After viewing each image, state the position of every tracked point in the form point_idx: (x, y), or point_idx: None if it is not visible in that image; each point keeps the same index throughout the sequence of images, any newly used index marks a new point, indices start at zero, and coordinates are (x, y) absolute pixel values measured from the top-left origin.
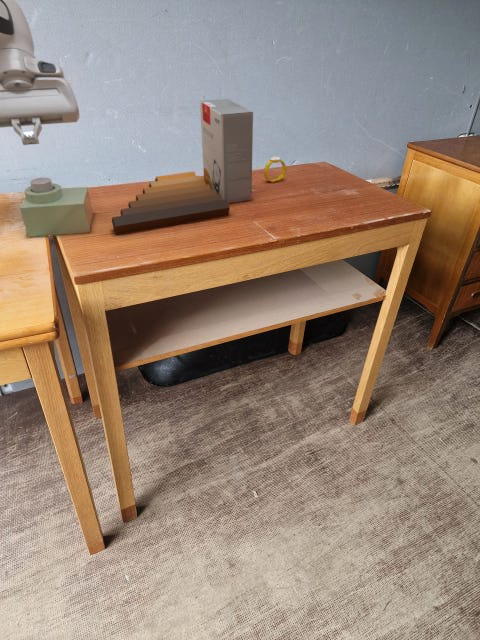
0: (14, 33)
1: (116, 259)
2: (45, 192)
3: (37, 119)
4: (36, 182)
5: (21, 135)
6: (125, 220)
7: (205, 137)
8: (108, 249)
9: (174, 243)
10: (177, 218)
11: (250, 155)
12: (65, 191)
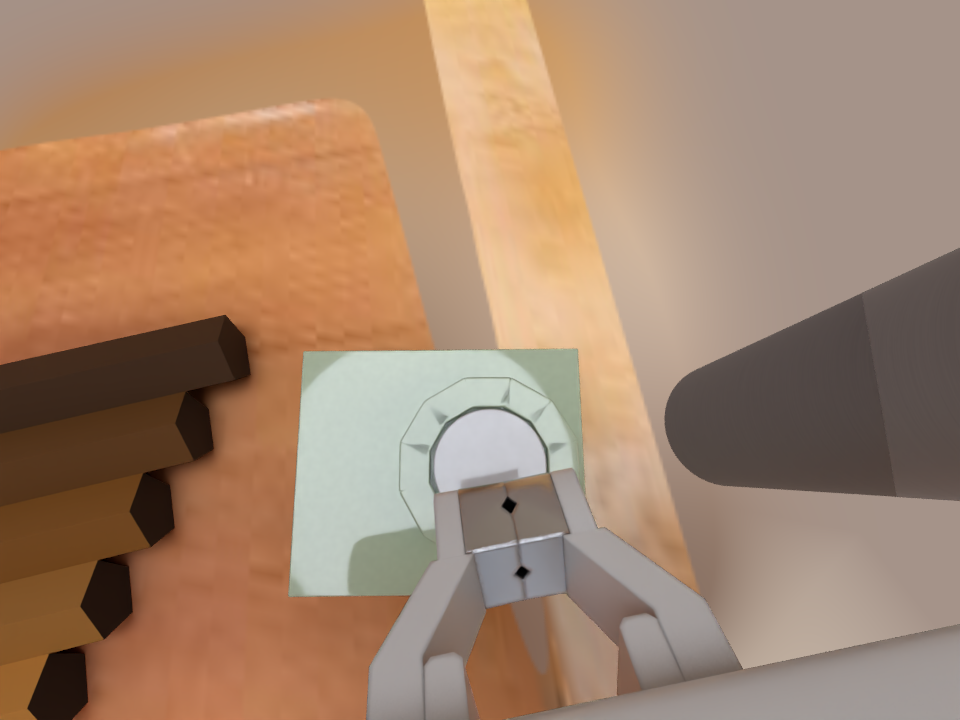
0: None
1: (255, 164)
2: (466, 404)
3: (396, 707)
4: (508, 440)
5: (579, 502)
6: (176, 337)
7: None
8: (276, 232)
9: (59, 236)
10: None
11: None
12: (398, 537)
